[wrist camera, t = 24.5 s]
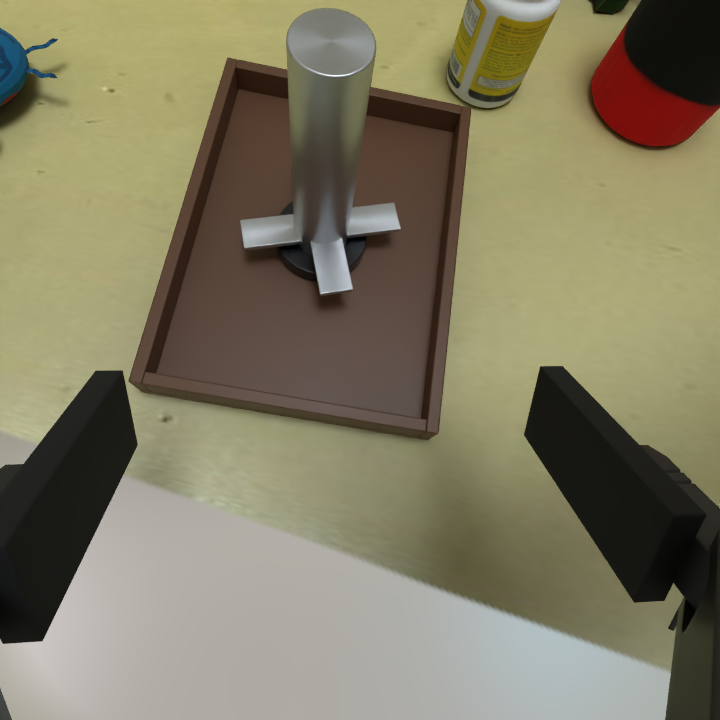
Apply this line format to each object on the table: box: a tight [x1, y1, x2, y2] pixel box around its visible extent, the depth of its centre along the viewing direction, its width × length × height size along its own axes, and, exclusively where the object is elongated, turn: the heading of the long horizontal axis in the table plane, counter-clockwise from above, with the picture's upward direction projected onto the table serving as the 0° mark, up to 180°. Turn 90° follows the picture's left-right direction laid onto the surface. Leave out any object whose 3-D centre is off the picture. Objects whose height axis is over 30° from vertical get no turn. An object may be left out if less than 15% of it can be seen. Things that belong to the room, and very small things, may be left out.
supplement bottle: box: [447, 0, 561, 108], centre depth 28 cm, size 5×5×8 cm
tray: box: [129, 58, 471, 440], centre depth 26 cm, size 14×19×2 cm
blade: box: [240, 8, 401, 296], centre depth 21 cm, size 8×8×12 cm
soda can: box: [592, 0, 720, 146], centre depth 27 cm, size 8×8×12 cm
